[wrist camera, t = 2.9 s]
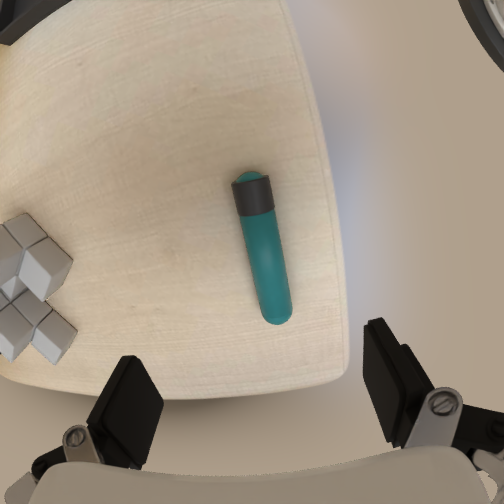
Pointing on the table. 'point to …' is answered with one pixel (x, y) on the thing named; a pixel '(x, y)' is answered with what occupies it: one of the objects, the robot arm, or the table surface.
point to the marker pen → (263, 245)
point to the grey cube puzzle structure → (31, 291)
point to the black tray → (23, 16)
